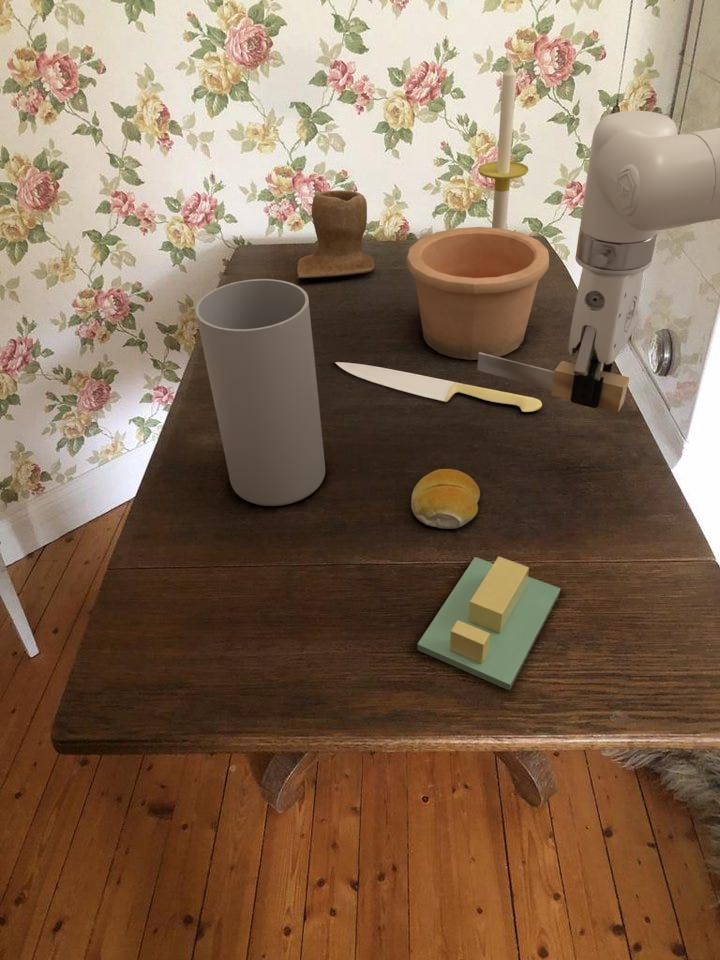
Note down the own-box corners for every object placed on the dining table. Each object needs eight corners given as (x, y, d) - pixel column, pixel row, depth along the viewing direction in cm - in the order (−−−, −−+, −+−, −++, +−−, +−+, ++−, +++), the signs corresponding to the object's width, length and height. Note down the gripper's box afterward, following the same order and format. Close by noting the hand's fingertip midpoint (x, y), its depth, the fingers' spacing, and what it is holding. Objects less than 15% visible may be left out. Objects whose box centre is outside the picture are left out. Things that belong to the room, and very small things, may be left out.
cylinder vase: (305, 517, 93) (281, 337, 77) (214, 499, 96) (174, 323, 80) (339, 457, 102) (324, 284, 86) (255, 442, 105) (226, 274, 89)
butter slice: (488, 652, 75) (490, 633, 73) (481, 664, 74) (483, 644, 72) (456, 638, 76) (457, 619, 74) (449, 650, 75) (450, 630, 73)
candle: (471, 268, 146) (481, 49, 122) (523, 270, 144) (544, 48, 120) (466, 291, 139) (476, 63, 115) (521, 293, 137) (543, 62, 113)
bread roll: (481, 486, 96) (482, 461, 93) (475, 534, 89) (476, 508, 87) (416, 480, 97) (416, 455, 95) (406, 526, 91) (405, 501, 88)
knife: (326, 377, 119) (340, 359, 122) (533, 425, 106) (544, 403, 109) (324, 371, 119) (339, 353, 121) (533, 418, 105) (544, 396, 108)
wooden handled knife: (623, 402, 88) (629, 377, 86) (617, 413, 86) (623, 387, 84) (481, 365, 95) (483, 341, 93) (473, 374, 94) (475, 350, 92)
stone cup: (370, 255, 153) (367, 180, 144) (377, 280, 144) (374, 201, 135) (296, 261, 153) (288, 186, 143) (298, 287, 143) (290, 208, 134)
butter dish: (559, 594, 81) (564, 568, 79) (509, 690, 72) (512, 665, 70) (474, 562, 86) (476, 537, 83) (417, 650, 77) (417, 624, 74)
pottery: (401, 367, 119) (399, 282, 110) (415, 303, 136) (415, 225, 127) (541, 372, 116) (551, 285, 107) (537, 306, 132) (546, 226, 123)
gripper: (629, 285, 70) (598, 443, 82) (672, 224, 80) (639, 372, 92) (552, 270, 73) (533, 424, 85) (602, 214, 83) (579, 358, 95)
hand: (588, 396), depth 88 cm, fingers closed on wooden handled knife, 2 cm apart
